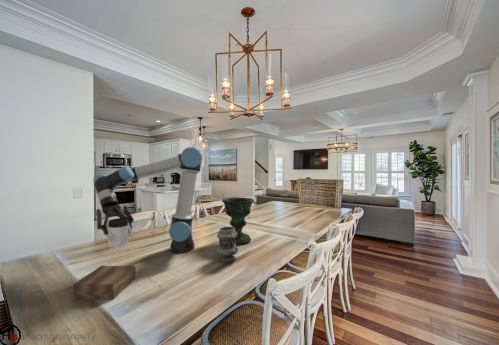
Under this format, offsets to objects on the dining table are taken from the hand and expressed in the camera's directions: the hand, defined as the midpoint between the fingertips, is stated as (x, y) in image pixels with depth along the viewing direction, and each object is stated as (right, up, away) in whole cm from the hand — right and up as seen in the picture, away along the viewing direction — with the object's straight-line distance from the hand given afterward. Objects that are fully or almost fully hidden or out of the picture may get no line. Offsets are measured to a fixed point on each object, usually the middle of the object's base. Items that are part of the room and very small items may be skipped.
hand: (121, 237), depth 103 cm
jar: (-3, -4, +2) cm, 6 cm away
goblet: (+53, -18, +51) cm, 76 cm away
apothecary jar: (+49, -19, +20) cm, 56 cm away
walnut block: (0, -19, -10) cm, 21 cm away
